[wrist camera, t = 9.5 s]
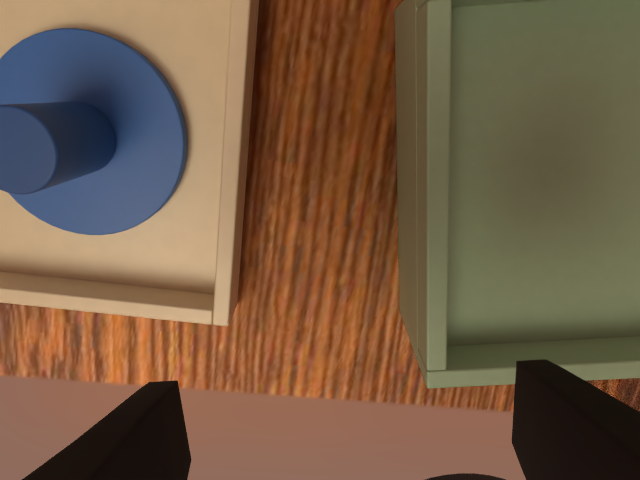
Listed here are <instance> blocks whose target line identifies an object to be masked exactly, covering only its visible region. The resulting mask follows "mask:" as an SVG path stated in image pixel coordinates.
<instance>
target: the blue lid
mask: <svg viewBox="0 0 640 480" xmlns="http://www.w3.org/2000/svg"><path fill="white" fill-rule="evenodd" d="M187 153H188V135H187V127H186V122H185V117H184V114H183V111H182V108H181V105H180V103H179V101H178V98H177V96H176V94H175V92H174V90H173V89H172V87H171V85H170V84H169V82H168V81H167V79H166V78H165V77H164V75H163V74H162V73H161V72H160V70H159V69H158V68H157V67H156V66H155V65H154V64H153V63H152V62H151V61H150V60H149V59H148V58H147V57H145V56H144V55H143V54H141V53H140V52H139V51H138V50H136V49H135V48H133V47H131V46H130V45H128V44H126V43H125V42H123V41H120V40H118V39H116V38H114V37H111V36H108V35H105V34H101V33H98V32H94V31H90V30H84V29H77V28H59V29H52V30H47V31H43V32H40V33H36V34H34V35H32V36H30V37H27V38H25V39H23V40H22V41H20V42H19V43H17V44H16V45H14V46H13V47H11V48H10V49H9V50H8V51H7V52H6V53H5V54H4V55H3V56H2V57H1V58H0V190H2V191H5V192H8V193H9V194H10V195H11V196H12V197H13V198H14V199H15V201H16V202H17V203H18V204H20V205H21V206H22V207H23V208H24V209H26V210H27V211H28V212H29V213H31V214H32V215H34V216H35V217H37V218H38V219H40V220H42V221H44V222H46V223H48V224H50V225H52V226H54V227H57V228H60V229H62V230H65V231H69V232H73V233H78V234H85V235H106V234H114V233H118V232H122V231H126V230H128V229H131V228H133V227H135V226H138V225H139V224H141V223H143V222H144V221H146V220H148V219H149V218H150V217H152V216H153V215H154V214H155V213H157V212H158V211H159V210H161V208H162V207H163V206H164V205H165V204H166V203H167V202H168V201H169V200H170V198H171V197H172V195H173V194H174V193H175V191H176V189H177V187H178V185H179V183H180V181H181V179H182V176H183V173H184V170H185V166H186V161H187Z"/></svg>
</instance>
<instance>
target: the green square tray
mask: <svg viewBox="0 0 640 480" xmlns="http://www.w3.org/2000/svg"><path fill="white" fill-rule="evenodd" d="M395 70H396V133H397V195H398V257H399V311H400V314H401V316H402V319H403V322H404V325H405V328H406V331H407V333H408V336H409V339H410V342H411V345H412V348H413V350H414V353H415V356H416V359H417V361H418V364H419V367H420V370H421V373H422V376H423V379H424V381H425V384H426V387H427V388H446V387H466V386H486V385H506V384H515V378H516V361H524V360H541V359H546V360H548V361H550V362H552V363H555V364H556V365H558V366H560V367H562V368H564V369H566V370H567V371H569V372H571V373H573V374H574V375H576V376H578V377H580V378H581V379H583V380H585V381H586V380H606V379H626V378H640V0H403V1H402V3H401V4H400V5H399V6H398V7H397V8H396V9H395Z"/></svg>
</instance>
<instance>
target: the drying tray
mask: <svg viewBox="0 0 640 480" xmlns="http://www.w3.org/2000/svg"><path fill="white" fill-rule="evenodd" d="M258 10H259V0H0V58H1V57H2V56H3V55H4V54H5V53H6V52H7V51H8V50H9V49H10V48H11V47H13V46H14V45H16V44H17V43H19V42H20V41H22V40H23V39H25V38H27V37H30V36H32V35H34V34H36V33H40V32H43V31H47V30H52V29H59V28H77V29H84V30H90V31H94V32H98V33H101V34H105V35H108V36H111V37H114V38H116V39H118V40H120V41H123V42H125V43H126V44H128V45H130V46H131V47H133V48H135V49H136V50H138V51H139V52H140V53H141V54H143V55H144V56H145V57H147V58H148V59H149V60H150V61H151V62H152V63H153V64H154V65H155V66H156V67H157V68H158V69H159V70H160V72H161V73H162V74H163V75H164V77H165V78H166V79H167V81H168V82H169V84H170V85H171V87H172V89H173V90H174V92H175V94H176V96H177V98H178V101H179V103H180V105H181V108H182V111H183V114H184V117H185V122H186V127H187V135H188V153H187V161H186V166H185V170H184V173H183V176H182V179H181V181H180V183H179V185H178V187H177V189H176V191H175V193H174V194H173V195H172V197H171V198H170V200H169V201H168V202H167V203H166V204H165V205H164V206H163V207H162V208H161V210H159V211H158V212H157V213H155V214H154V215H153V216H152V217H150V218H149V219H148V220H146V221H144V222H143V223H141V224H139V225H138V226H135V227H133V228H131V229H128V230H126V231H122V232H118V233H114V234H106V235H85V234H78V233H73V232H69V231H65V230H62V229H60V228H57V227H54V226H52V225H50V224H48V223H46V222H44V221H42V220H40V219H38V218H37V217H35V216H34V215H32V214H31V213H29V212H28V211H27V210H26V209H24V208H23V207H22V206H21V205H20V204H18V203H17V202H16V201H15V199H14V198H13V197H12V196H11V195H10V194H9V193H8V192H5V191H2V190H0V302H1V303H11V304H20V305H30V306H39V307H49V308H58V309H68V310H77V311H87V312H96V313H106V314H115V315H125V316H134V317H144V318H153V319H163V320H172V321H182V322H191V323H201V324H212V323H213V325H220V326H228V325H229V323H230V321H231V318H232V316H233V313H234V311H235V308H236V306H237V301H238V287H239V273H240V260H241V246H242V232H243V218H244V204H245V190H246V177H247V163H248V149H249V135H250V121H251V107H252V93H253V80H254V66H255V52H256V38H257V24H258Z"/></svg>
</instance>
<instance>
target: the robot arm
mask: <svg viewBox="0 0 640 480" xmlns="http://www.w3.org/2000/svg"><path fill="white" fill-rule="evenodd" d="M512 431H513V432H512V444H513V446H514V449H515V452H516V455H517V457H518V460H519V463H520V465H521V468H522V470H523V473H524V475H525V477H526V480H640V412H638V411H637V410H635V409H633V408H631V407H630V406H628V405H626V404H624V403H623V402H621V401H619V400H617V399H616V398H614V397H612V396H610V395H609V394H607V393H605V392H603V391H602V390H600V389H598V388H597V387H595V386H593V385H592V384H590V383H588V382H586V381H585V380H583V379H581V378H580V377H578V376H576V375H574V374H573V373H571V372H569V371H567V370H566V369H564V368H562V367H560V366H558V365H556V364H555V363H552V362H550V361H548V360H546V359H541V360H524V361H516V378H515V395H514V413H513V430H512ZM190 463H191V456H190V450H189V444H188V438H187V432H186V427H185V422H184V415H183V410H182V404H181V398H180V392H179V387H178V381H162V382H149V383H148V384H146V385H145V386H143V387H142V388H141V389H139V390H138V391H137V392H135V393H134V394H133V395H131V396H130V397H129V398H128V399H126V400H125V401H124V402H123V403H121V404H120V405H119V406H118V407H116V408H115V409H114V410H113V411H112V412H110V413H109V414H108V415H107V416H105V417H104V418H103V419H102V420H100V421H99V422H98V423H97V424H95V425H94V426H93V427H92V428H90V429H89V430H88V431H87V432H85V433H84V434H83V435H82V436H80V437H79V438H78V439H77V440H75V441H74V442H73V443H71V444H70V445H69V446H67V447H66V448H65V449H63V450H62V451H61V452H59V453H58V454H56V455H55V456H54V457H52V458H51V459H50V460H48V461H47V462H46V463H44V464H43V465H42V466H40V467H39V468H37V469H36V470H35V471H33V472H32V473H31V474H29V475H28V476H27V477H25V478H24V479H22V480H187V477H188V473H189V468H190Z"/></svg>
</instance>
